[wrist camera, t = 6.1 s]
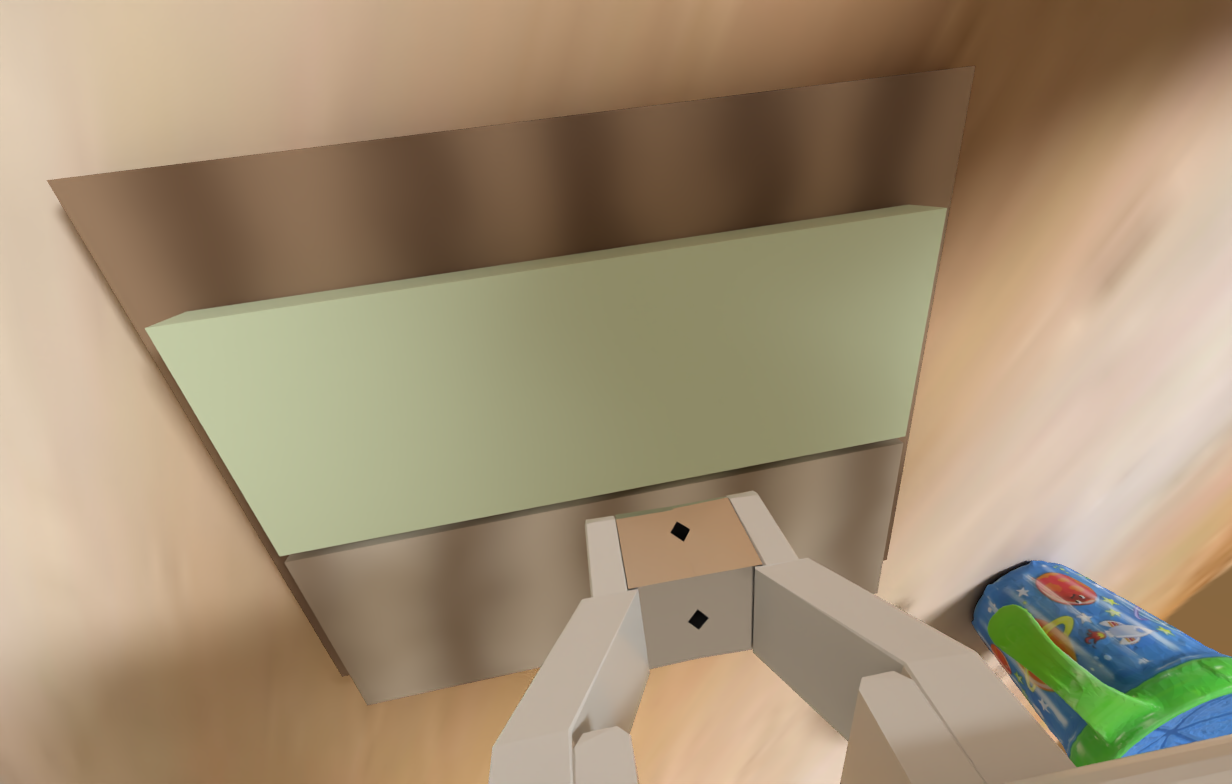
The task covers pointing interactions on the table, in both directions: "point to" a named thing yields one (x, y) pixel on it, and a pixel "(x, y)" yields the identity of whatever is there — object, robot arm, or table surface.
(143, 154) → the table surface
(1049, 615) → the snack cup
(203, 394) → the board
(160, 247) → the floor board
